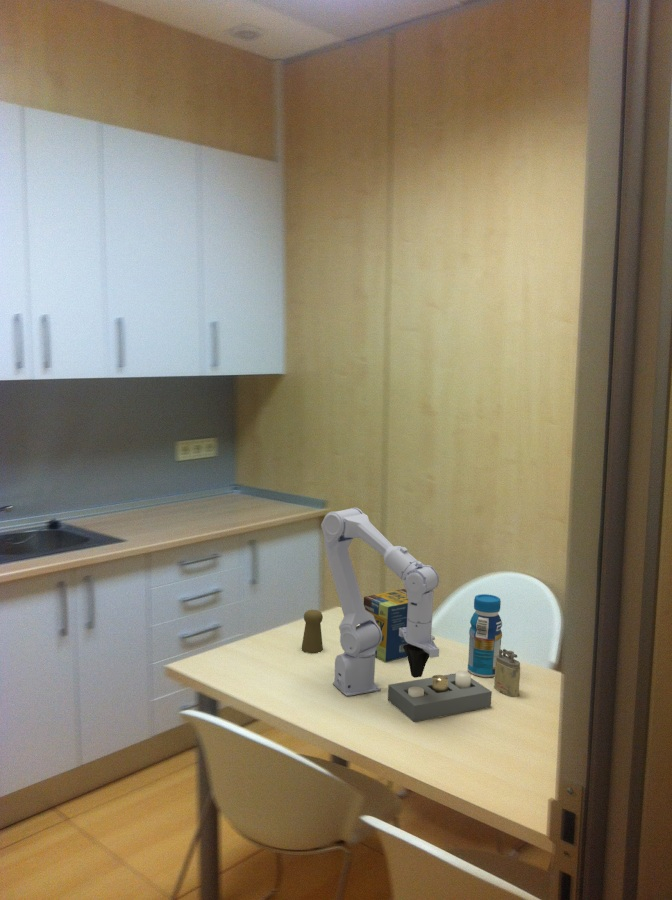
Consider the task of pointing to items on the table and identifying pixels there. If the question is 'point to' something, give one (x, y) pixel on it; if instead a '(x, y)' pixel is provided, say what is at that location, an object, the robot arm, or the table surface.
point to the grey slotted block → (438, 699)
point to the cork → (312, 632)
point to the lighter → (507, 673)
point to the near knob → (416, 691)
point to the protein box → (389, 622)
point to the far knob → (462, 679)
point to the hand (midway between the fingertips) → (416, 676)
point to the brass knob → (440, 683)
